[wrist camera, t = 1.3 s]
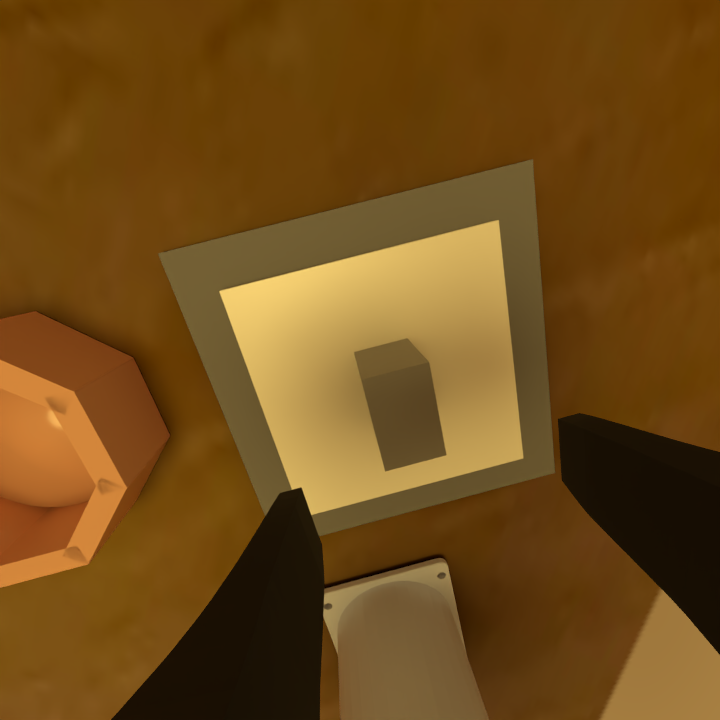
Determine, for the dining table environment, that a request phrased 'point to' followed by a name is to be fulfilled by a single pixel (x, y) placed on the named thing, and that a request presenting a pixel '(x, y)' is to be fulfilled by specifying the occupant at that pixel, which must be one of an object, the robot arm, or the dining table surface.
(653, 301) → the dining table surface
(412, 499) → the mat
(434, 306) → the lid
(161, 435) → the bowl
